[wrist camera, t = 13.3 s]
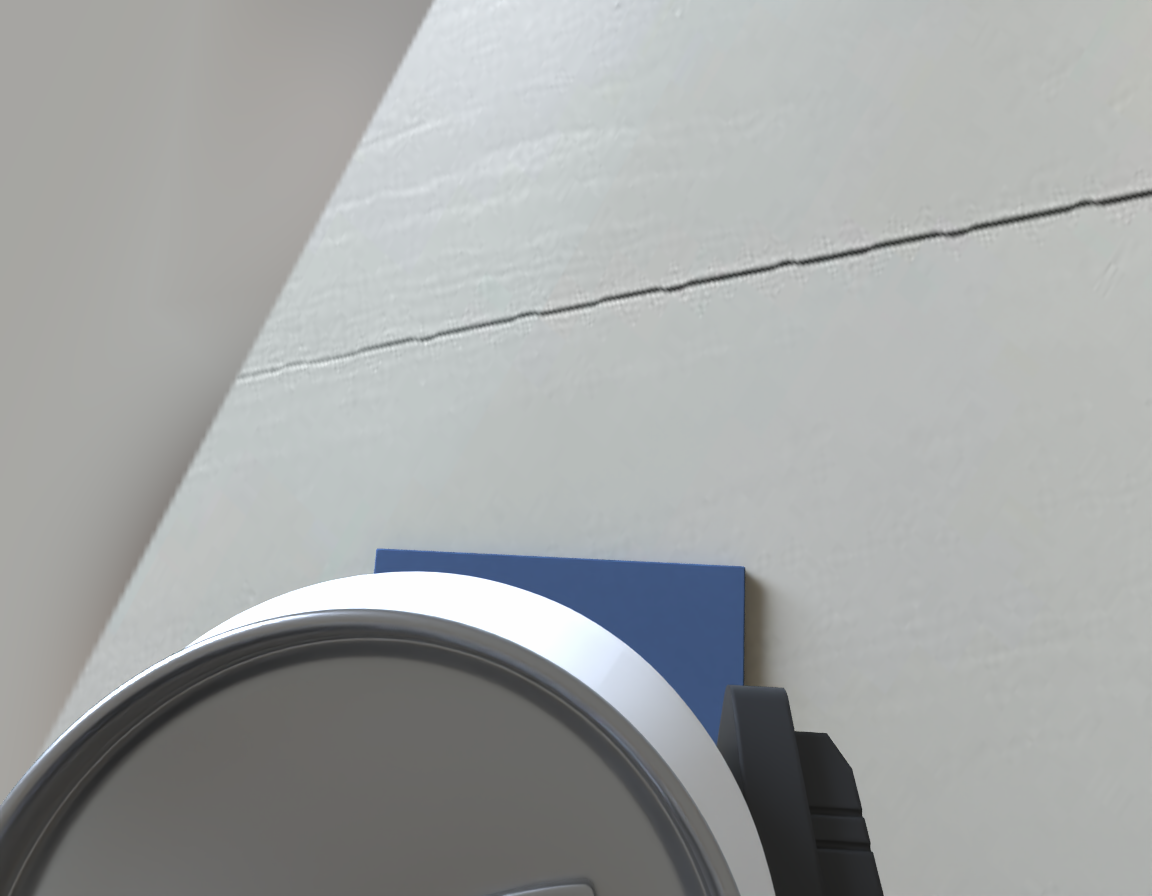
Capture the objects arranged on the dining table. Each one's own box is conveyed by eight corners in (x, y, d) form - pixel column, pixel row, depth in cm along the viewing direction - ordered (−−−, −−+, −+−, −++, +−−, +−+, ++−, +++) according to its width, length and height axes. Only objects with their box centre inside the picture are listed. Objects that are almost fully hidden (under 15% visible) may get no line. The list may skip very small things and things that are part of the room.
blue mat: (349, 840, 26) (345, 844, 26) (379, 549, 28) (376, 548, 28) (740, 866, 26) (742, 869, 25) (743, 567, 28) (745, 566, 27)
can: (345, 633, 18) (-151, 611, 6) (653, 591, 18) (746, 488, 6) (369, 976, 16) (-223, 1813, 5) (704, 930, 16) (958, 1651, 5)
